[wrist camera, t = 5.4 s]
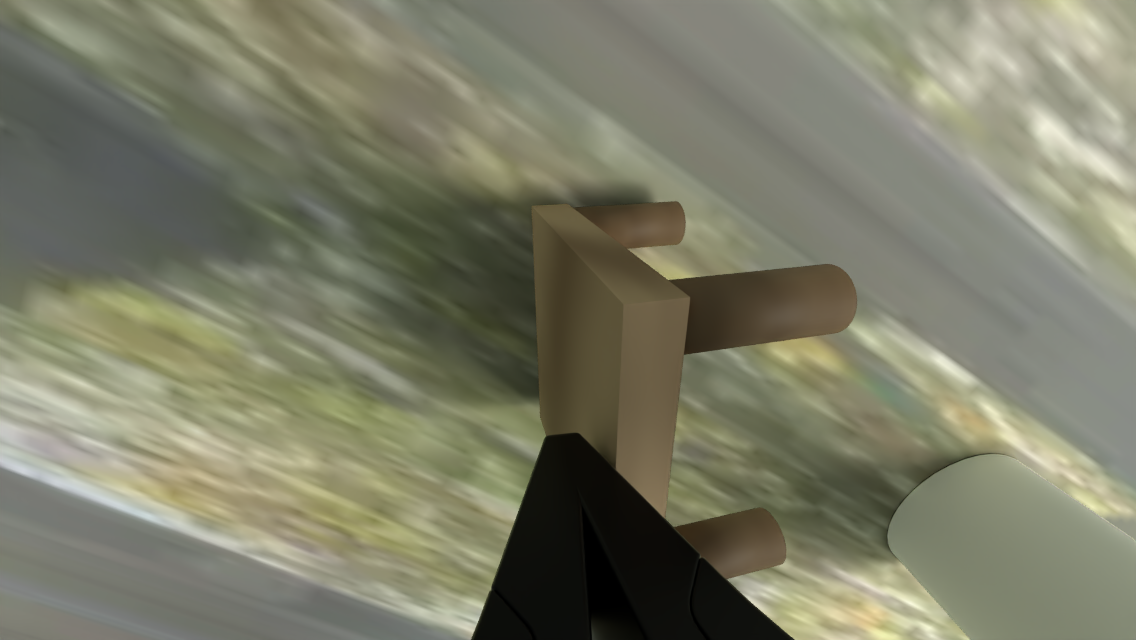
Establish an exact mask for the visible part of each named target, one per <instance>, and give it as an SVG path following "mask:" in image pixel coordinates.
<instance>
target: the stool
mask: <svg viewBox="0 0 1136 640" xmlns="http://www.w3.org/2000/svg"><path fill="white" fill-rule="evenodd" d="M685 223H686V222H685V214H684V210H683V208H682V206H681V204H680V203H679V202H676V201H674V202H658V203H641V204H625V205H608V206H591V207H575V208H572V207H571V206H570V205H568V204H555V205H538V206H532V229H533V254H534V278H535V303H536V327H537V351H538V376H539V400H540V418H541V421H542V424H543V427H544V430H545V433H546V436H548V435H555V434H564V433H573V432H577V433H580V434H581V435H582V436H583V437H584V438H585V439H586V440H587V441H588V442H589V443H590V444H591V445H592V446H593V447H594V448H595V449H596V450H597V451H598V452H599V453H600V454H601V455H602V456H603V457H604V458H605V459H606V460H607V461H608V462H609V463H610V464H611V465H612V466H613V467H614V468H615V469H616V470H617V471H618V472H619V473H620V474H621V475H622V476H623V477H624V478H625V479H626V480H627V481H628V482H629V483H630V484H631V485H632V486H633V487H634V488H635V489H636V490H637V491H638V492H639V493H640V494H641V495H642V496H643V497H644V498H645V499H646V500H647V501H648V502H649V503H650V504H651V505H652V506H653V507H654V508H655V509H656V510H657V511H658V512H659V513H660V514H661V515H662V516H663V517H664V518H665V514H666V505H667V497H668V488H669V479H670V470H671V462H672V453H673V444H674V436H675V427H676V418H677V409H678V401H679V392H680V383H681V375H682V366H683V357H684V355H685V354H692V353H699V352H706V351H713V350H720V349H727V348H734V347H741V346H749V345H756V344H763V343H770V342H777V341H784V340H791V339H798V338H805V337H812V336H819V335H826V334H833V333H838V332H841V331H843V330H844V329H846V328H847V327H848V326H849V325H850V323H851V322H852V320H853V318H854V316H855V313H856V308H857V295H856V290H855V287H854V284H853V282H852V280H851V278H850V277H849V276H848V274H847V273H846V272H845V271H844V270H842V269H841V268H840V267H838V266H835V265H831V264H823V265H813V266H803V267H793V268H784V269H774V270H764V271H754V272H744V273H734V274H724V275H715V276H705V277H695V278H685V279H675V280H667V279H666V278H664V277H663V276H662V275H660V274H659V273H658V272H657V271H655V270H654V269H653V268H651V267H650V266H649V265H647V264H646V263H645V262H643V261H642V260H641V259H639V258H638V257H637V256H635V255H634V254H633V253H632V252H630V251H629V250H628V249H629V248H641V247H653V246H665V245H677V244H679V243H680V242H681V241H682V239H683V236H684V233H685ZM674 528H675V529H676V530H677V531H678V532H679V533H680V534H681V535H682V536H683V537H684V538H685V539H686V540H687V541H688V542H689V543H690V544H691V545H692V546H693V547H694V548H695V549H696V550H697V551H698V552H699V553H700V555H701V558H702V557H704V558H705V559H706V560H707V561H708V562H709V563H710V564H711V565H712V566H713V567H714V568H715V569H716V570H717V571H718V572H719V573H720V574H721V575H722V576H723V577H724V578H726V579H729V578H732V577H736V576H740V575H744V574H747V573H751V572H755V571H759V570H762V569H766V568H770V567H774V566H777V565H781V564H783V563H784V561H785V559H786V544H785V540H784V537H783V534H782V531H781V529H780V527H779V525H778V523H777V522H776V520H775V519H774V517H773V516H772V515H771V514H770V513H769V512H768V511H767V510H765V509H763V508H760V507H759V508H754V509H750V510H745V511H741V512H737V513H732V514H728V515H724V516H720V517H715V518H711V519H707V520H702V521H698V522H694V523H689V524H685V525H681V526H677V527H674Z"/></svg>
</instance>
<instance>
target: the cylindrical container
mask: <svg viewBox="0 0 1136 640" xmlns="http://www.w3.org/2000/svg"><path fill="white" fill-rule="evenodd" d="M887 538H888V545H889V547H890V549H891V552H892V553H893V554H894V555H895V556H896V557H897V558H898V559H899V561H900V562H901V563H902V564H903V565H904V566H905V567H906V568H907V569H908V571H909V572H910V573H911V574H912V575H913V576H914V577H915V578H916V579H917V581H918V582H919V583H920V584H921V585H922V586H923V587H924V588H925V590H926V591H927V592H928V593H929V594H930V595H931V596H932V597H933V598H934V600H935V601H936V602H937V603H938V604H939V605H940V606H941V607H942V608H943V610H944V611H945V612H946V613H947V614H948V615H949V616H950V617H951V619H952V620H953V621H954V622H955V623H956V624H957V625H958V626H959V627H960V629H961V630H962V631H963V632H964V633H965V634H966V635H967V636H968V638H969V639H970V640H1136V540H1135V539H1133V538H1132V537H1130V536H1129V535H1128V534H1126V533H1124V532H1123V531H1122V530H1120V529H1119V528H1117V527H1116V526H1114V525H1113V524H1111V523H1110V522H1108V521H1107V520H1105V519H1104V518H1102V517H1101V516H1099V515H1098V514H1096V513H1095V512H1093V511H1092V510H1091V509H1089V508H1088V507H1086V506H1085V505H1083V504H1082V503H1080V502H1079V501H1077V500H1076V499H1074V498H1073V497H1071V496H1070V495H1068V494H1067V493H1065V492H1064V491H1062V490H1061V489H1059V488H1058V487H1056V486H1055V485H1054V484H1052V483H1051V482H1049V481H1048V480H1046V479H1045V478H1043V477H1042V476H1040V475H1039V474H1037V473H1036V472H1034V471H1033V470H1031V469H1030V468H1028V467H1027V466H1025V465H1024V464H1022V463H1021V462H1020V461H1018V460H1017V459H1015V458H1012V457H1010V456H1007V455H1001V454H987V455H979V456H975V457H971V458H967V459H964V460H961V461H959V462H957V463H954V464H952V465H949V466H948V467H946V468H944V469H942V470H940V471H938V472H937V473H935V474H934V475H932V476H931V477H929V478H928V479H926V480H925V481H924V482H922V483H921V484H920V485H919V486H918V487H917V488H915V489H914V490H913V491H912V492H911V493H910V494H909V495H908V496H907V498H906V499H905V500H904V501H903V502H902V503H901V505H900V506H899V508H898V509H897V511H896V512H895V514H894V516H893V518H892V520H891V522H890V525H889V529H888V534H887Z"/></svg>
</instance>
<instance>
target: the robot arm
mask: <svg viewBox="0 0 1136 640" xmlns="http://www.w3.org/2000/svg"><path fill="white" fill-rule="evenodd" d="M491 589H492V590H491V591H490V592H489V594H488V597H487V599H486V602H485V605H484V608H483V610H482V613H481V616H480V618H479V621H478V623H477V626H476V628H475V631H474V634H473V636H472V639H471V640H794V639H793V638H792V637H791V636H789V635H788V634H787V633H786V632H785V631H783V630H782V629H781V628H780V627H779V626H778V625H776V624H775V623H774V622H773V621H772V620H771V619H770V618H768V617H767V616H766V615H765V614H764V613H763V612H761V611H760V610H759V609H758V608H757V607H756V606H754V605H753V604H752V603H751V602H750V601H749V600H748V599H747V598H746V597H745V596H743V595H742V594H741V593H740V592H739V591H738V590H737V589H736V588H735V587H734V586H733V585H732V584H731V583H730V582H729V581H728V580H727V579H726V578H724V577H723V576H722V575H721V574H720V573H719V572H718V571H717V570H716V569H715V568H714V567H713V566H712V565H711V564H710V563H709V562H708V561H707V560H706V559H705V558H704V557H702V558H701V555H700V553H699V552H698V551H697V550H696V549H695V548H694V547H693V546H692V545H691V544H690V543H689V542H688V541H687V540H686V539H685V538H684V537H683V536H682V535H681V534H680V533H679V532H678V531H677V530H676V529H675V528H674V527H673V526H672V525H671V524H670V523H669V522H668V521H667V520H666V519H665V518H664V517H663V516H662V515H661V514H660V513H659V512H658V511H657V510H656V509H655V508H654V507H653V506H652V505H651V504H650V503H649V502H648V501H647V500H646V499H645V498H644V497H643V496H642V495H641V494H640V493H639V492H638V491H637V490H636V489H635V488H634V487H633V486H632V485H631V484H630V483H629V482H628V481H627V480H626V479H625V478H624V477H623V476H622V475H621V474H620V473H619V472H618V471H617V470H616V469H615V468H614V467H613V466H612V465H611V464H610V463H609V462H608V461H607V460H606V459H605V458H604V457H603V456H602V455H601V454H600V453H599V452H598V451H597V450H596V449H595V448H594V447H593V446H592V445H591V444H590V443H589V442H588V441H587V440H586V439H585V438H584V437H583V436H582V435H581V434H580V433H577V432H573V433H564V434H555V435H548V436H546V437H545V439H544V441H543V444H542V447H541V450H540V452H539V455H538V458H537V461H536V464H535V466H534V469H533V472H532V475H531V477H530V480H529V483H528V486H527V489H526V491H525V494H524V497H523V500H522V503H521V505H520V508H519V511H518V514H517V517H516V519H515V522H514V525H513V528H512V530H511V533H510V536H509V539H508V542H507V544H506V547H505V550H504V553H503V556H502V558H501V561H500V564H499V567H498V569H497V572H496V575H495V578H494V581H493V583H492V586H491Z"/></svg>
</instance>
